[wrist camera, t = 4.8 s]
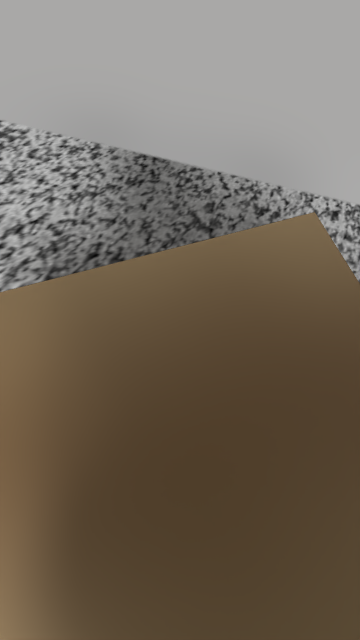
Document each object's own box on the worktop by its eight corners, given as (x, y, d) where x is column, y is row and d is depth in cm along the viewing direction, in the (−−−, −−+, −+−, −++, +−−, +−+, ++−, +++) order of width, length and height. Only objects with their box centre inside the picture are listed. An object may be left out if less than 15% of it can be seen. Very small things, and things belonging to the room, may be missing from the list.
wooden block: (228, 432, 15) (564, 609, 2) (150, 463, 14) (26, 979, 2) (200, 356, 16) (314, 212, 4) (128, 380, 15) (-28, 299, 3)
